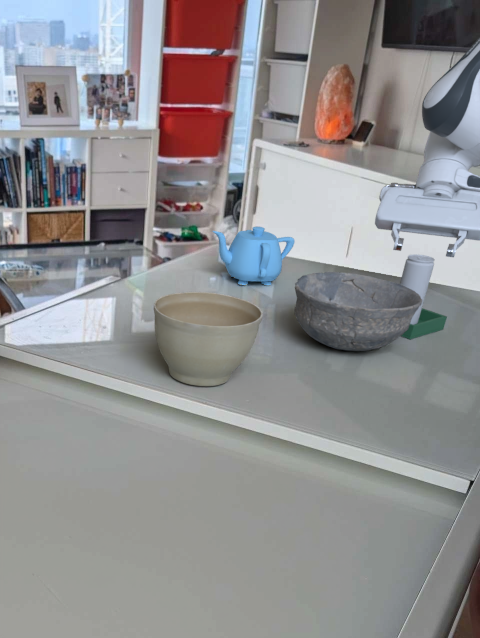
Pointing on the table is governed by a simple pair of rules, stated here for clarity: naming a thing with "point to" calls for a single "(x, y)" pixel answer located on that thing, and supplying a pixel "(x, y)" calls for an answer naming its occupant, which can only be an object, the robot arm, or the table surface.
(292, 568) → the table surface
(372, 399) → the table surface
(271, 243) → the teapot
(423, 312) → the green tray
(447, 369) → the table surface
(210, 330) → the planter bowl
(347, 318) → the bowl
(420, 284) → the beverage can
